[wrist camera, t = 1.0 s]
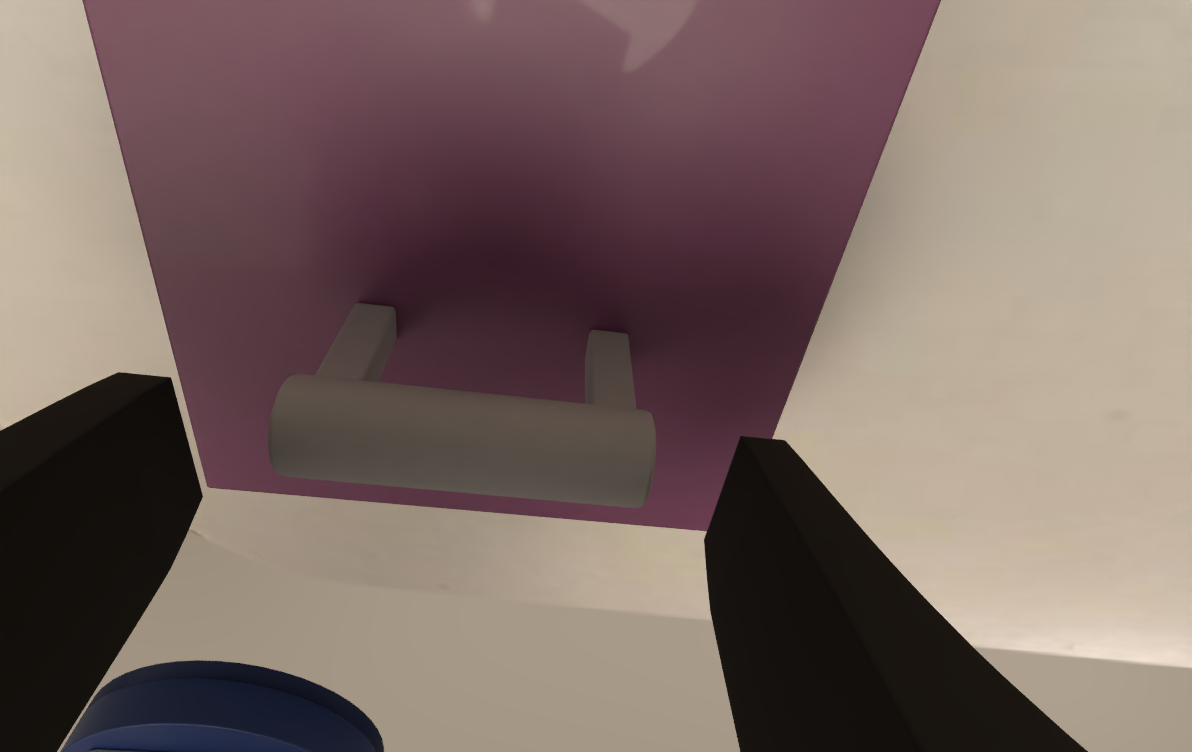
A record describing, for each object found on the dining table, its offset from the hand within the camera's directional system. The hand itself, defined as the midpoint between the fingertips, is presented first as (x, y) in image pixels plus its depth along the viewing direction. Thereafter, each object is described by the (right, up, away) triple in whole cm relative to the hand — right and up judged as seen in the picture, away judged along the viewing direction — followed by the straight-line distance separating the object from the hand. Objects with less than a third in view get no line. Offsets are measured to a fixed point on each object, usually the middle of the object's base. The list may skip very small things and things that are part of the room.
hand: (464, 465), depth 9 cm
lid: (0, +4, +2) cm, 4 cm away
